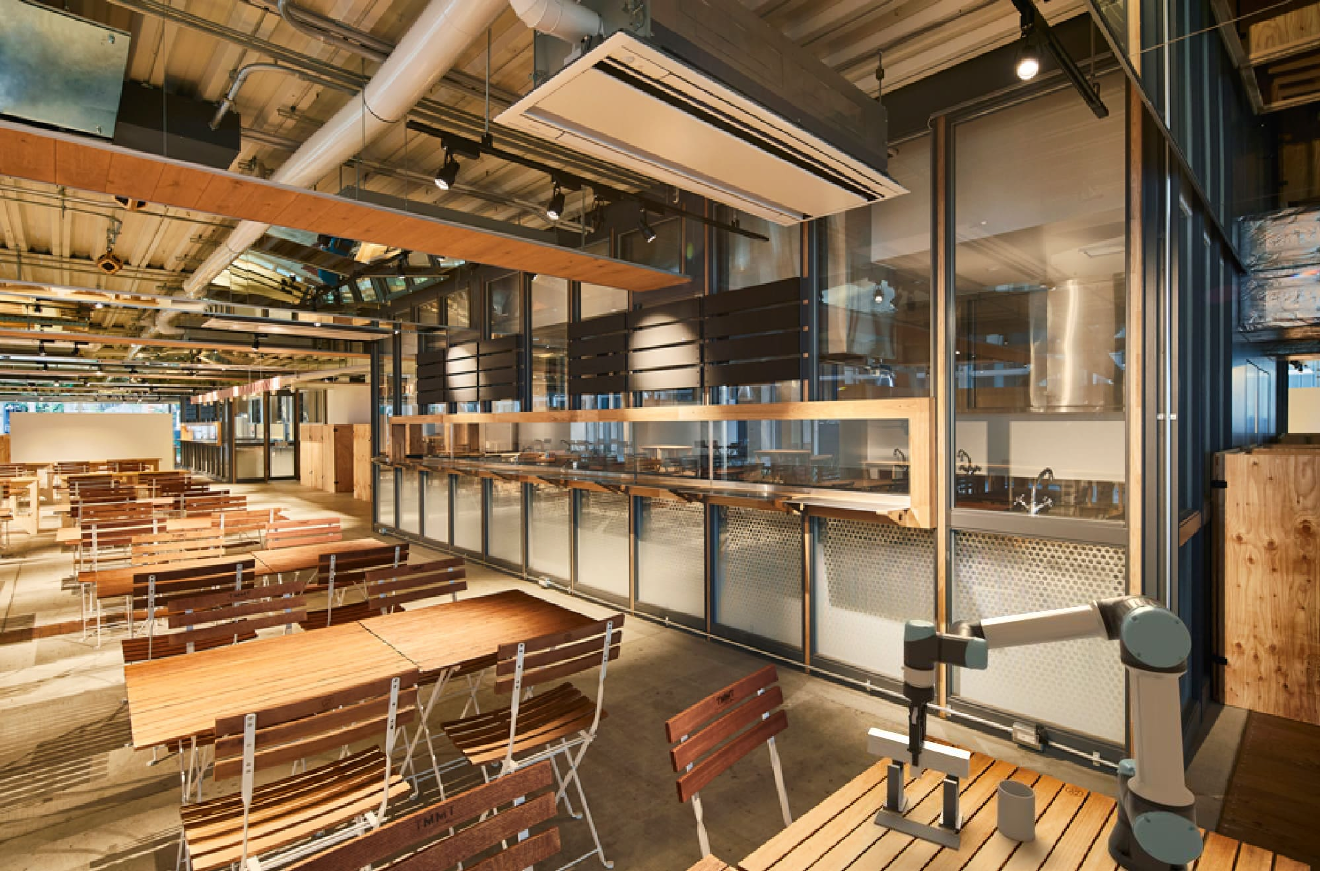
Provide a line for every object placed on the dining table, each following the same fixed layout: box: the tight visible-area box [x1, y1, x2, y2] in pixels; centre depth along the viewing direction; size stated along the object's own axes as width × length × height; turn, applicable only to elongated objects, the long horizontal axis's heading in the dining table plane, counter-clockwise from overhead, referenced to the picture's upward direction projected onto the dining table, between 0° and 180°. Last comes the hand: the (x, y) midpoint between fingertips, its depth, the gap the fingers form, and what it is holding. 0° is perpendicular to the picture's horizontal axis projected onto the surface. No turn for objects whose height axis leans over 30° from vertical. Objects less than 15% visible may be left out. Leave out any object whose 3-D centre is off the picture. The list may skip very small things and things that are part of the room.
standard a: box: [938, 774, 964, 833], centre depth 166 cm, size 5×8×12 cm, turn 148°
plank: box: [873, 809, 962, 851], centre depth 162 cm, size 20×6×1 cm, turn 59°
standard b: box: [882, 759, 909, 815], centre depth 174 cm, size 5×8×12 cm, turn 149°
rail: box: [867, 727, 971, 780], centre depth 162 cm, size 24×4×5 cm, turn 59°
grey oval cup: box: [996, 779, 1036, 842], centre depth 164 cm, size 12×8×11 cm
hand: (917, 772), depth 162 cm, fingers closed on rail, 4 cm apart
